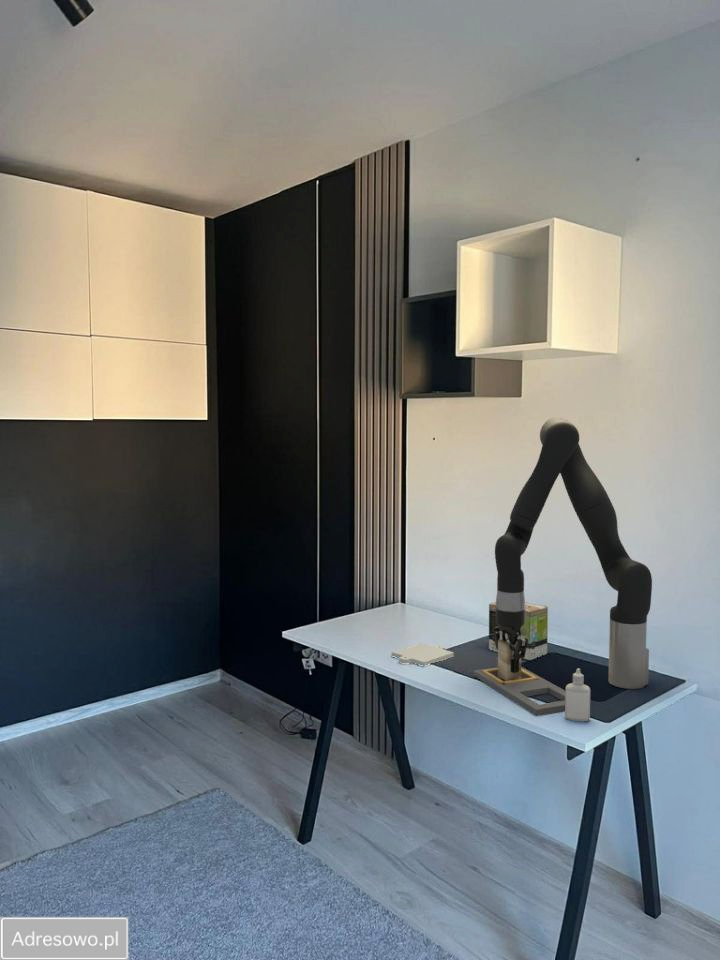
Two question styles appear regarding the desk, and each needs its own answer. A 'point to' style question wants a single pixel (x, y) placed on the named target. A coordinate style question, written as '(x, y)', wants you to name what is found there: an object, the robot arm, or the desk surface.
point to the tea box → (526, 629)
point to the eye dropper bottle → (577, 699)
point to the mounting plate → (422, 654)
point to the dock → (525, 690)
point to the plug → (506, 662)
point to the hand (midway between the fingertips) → (509, 669)
